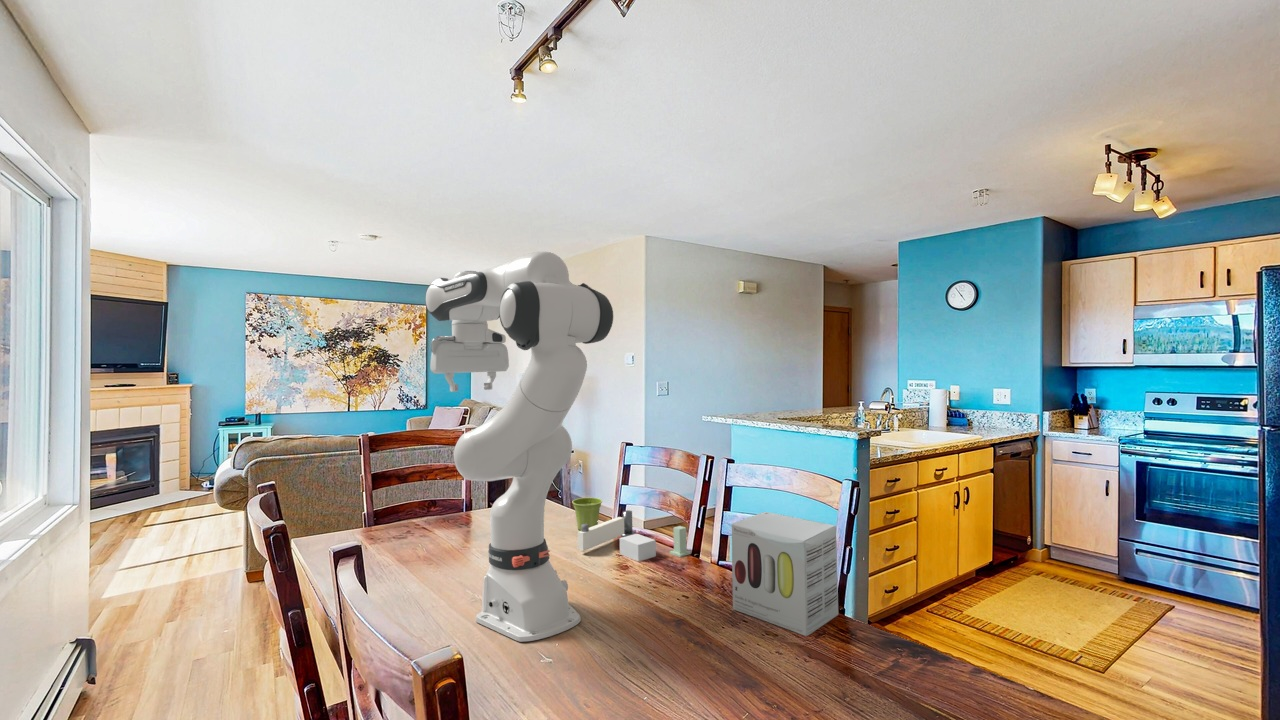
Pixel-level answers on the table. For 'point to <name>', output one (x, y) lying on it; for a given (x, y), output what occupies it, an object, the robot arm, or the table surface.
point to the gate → (599, 533)
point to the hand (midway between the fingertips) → (471, 390)
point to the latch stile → (680, 542)
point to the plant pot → (587, 511)
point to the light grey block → (637, 547)
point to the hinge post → (627, 523)
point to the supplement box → (785, 571)
